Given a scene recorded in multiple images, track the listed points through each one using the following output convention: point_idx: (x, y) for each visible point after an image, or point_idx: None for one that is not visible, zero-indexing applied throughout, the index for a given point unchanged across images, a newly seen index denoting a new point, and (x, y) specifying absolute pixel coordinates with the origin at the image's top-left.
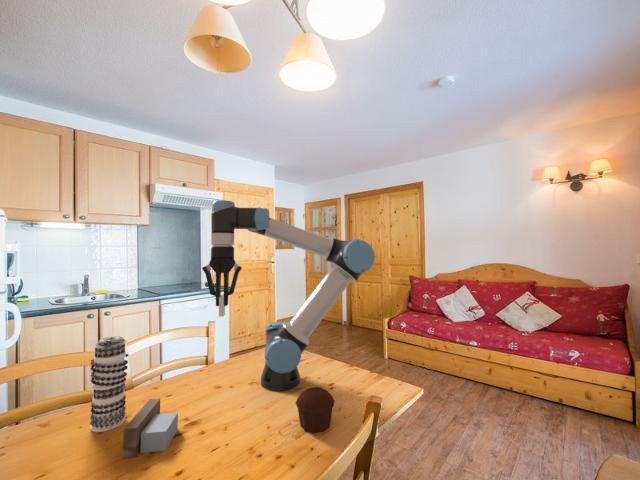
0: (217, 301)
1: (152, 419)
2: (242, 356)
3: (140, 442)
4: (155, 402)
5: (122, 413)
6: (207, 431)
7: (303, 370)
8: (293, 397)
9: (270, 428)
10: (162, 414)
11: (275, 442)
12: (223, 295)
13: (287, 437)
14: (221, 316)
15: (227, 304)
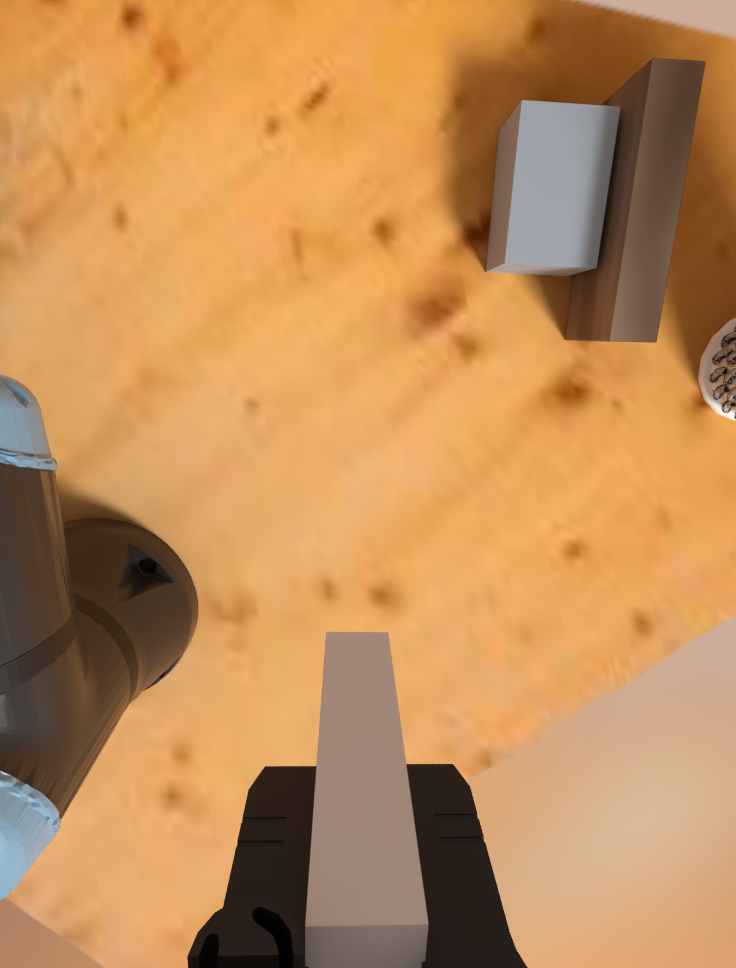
0: (450, 843)
1: (599, 221)
2: None
3: None
4: (622, 300)
5: (728, 356)
6: (366, 235)
7: None
8: None
9: (110, 207)
10: (567, 259)
11: (76, 96)
12: (298, 945)
13: (29, 123)
14: (352, 632)
15: (252, 797)
